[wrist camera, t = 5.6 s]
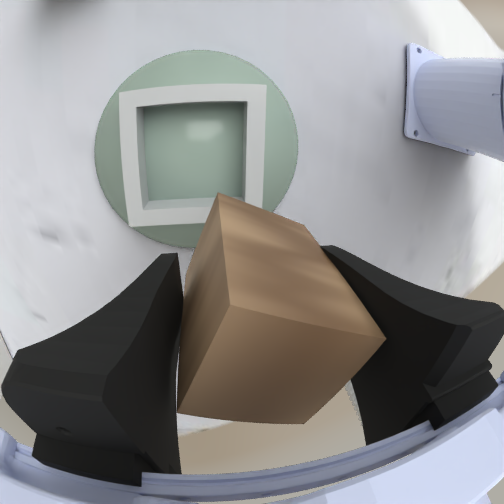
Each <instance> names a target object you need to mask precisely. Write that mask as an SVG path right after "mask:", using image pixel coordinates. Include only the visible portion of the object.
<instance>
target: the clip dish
mask: <svg viewBox="0 0 504 504" xmlns="http://www.w3.org/2000/svg"><path fill="white" fill-rule="evenodd" d="M297 156H298V135H297V128H296V124H295V120H294V117H293V113H292V111H291V109H290V107H289V104H288V102H287V100H286V99H285V97H284V95H283V94H282V92H281V91H280V89H279V88H278V87H277V86H276V85H275V83H274V82H273V81H272V80H271V79H270V78H269V77H268V76H267V75H266V74H264V73H263V72H262V71H261V70H260V69H258V68H256V67H255V66H253V65H252V64H250V63H249V62H247V61H244V60H242V59H240V58H238V57H236V56H232V55H229V54H226V53H222V52H216V51H210V50H191V51H182V52H177V53H173V54H170V55H166V56H163V57H161V58H158V59H156V60H154V61H152V62H150V63H148V64H146V65H145V66H143V67H141V68H140V69H138V70H137V71H136V72H134V73H133V74H132V75H131V76H129V77H128V78H127V79H126V80H125V81H124V82H123V83H122V84H121V85H120V86H119V88H118V89H117V90H116V92H115V93H114V94H113V96H112V97H111V98H110V100H109V102H108V104H107V105H106V107H105V109H104V111H103V114H102V116H101V119H100V121H99V125H98V129H97V133H96V139H95V165H96V171H97V176H98V179H99V182H100V186H101V188H102V190H103V192H104V194H105V197H106V198H107V200H108V201H109V203H110V205H111V206H112V208H113V209H114V210H115V211H116V213H117V214H118V215H119V216H120V217H121V218H122V219H123V220H124V221H125V222H126V223H127V224H128V225H129V227H132V228H134V229H135V230H136V231H138V232H139V233H141V234H143V235H145V236H146V237H148V238H150V239H153V240H155V241H158V242H161V243H164V244H168V245H172V246H178V247H188V248H196V246H197V243H198V240H199V238H200V235H201V233H202V230H203V228H204V225H205V222H206V220H207V217H208V215H209V212H210V210H211V207H212V205H213V203H214V200H215V198H216V195H217V193H218V192H219V193H221V194H224V195H227V196H230V197H232V198H235V199H238V200H240V201H243V202H246V203H248V204H251V205H254V206H256V207H259V208H262V209H264V210H267V211H269V212H273V211H274V210H275V208H276V207H277V206H278V204H279V203H280V202H281V200H282V199H283V197H284V195H285V194H286V192H287V190H288V188H289V186H290V183H291V181H292V178H293V175H294V172H295V168H296V164H297Z"/></svg>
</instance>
